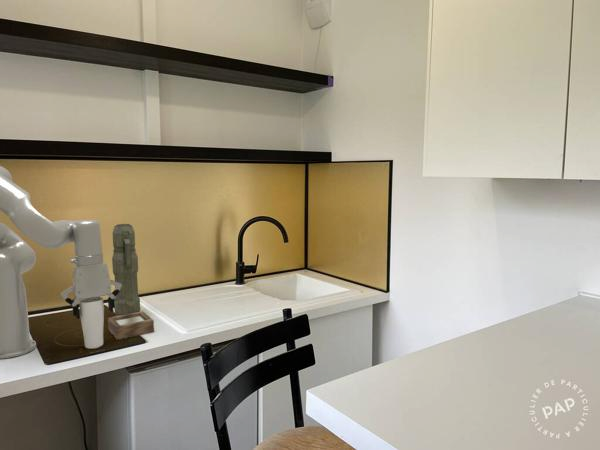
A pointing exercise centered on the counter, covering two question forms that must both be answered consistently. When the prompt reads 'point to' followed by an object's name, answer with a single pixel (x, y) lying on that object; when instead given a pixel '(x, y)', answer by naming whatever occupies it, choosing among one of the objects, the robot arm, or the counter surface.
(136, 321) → the wooden tray
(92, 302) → the drinking glass
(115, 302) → the stone statue
